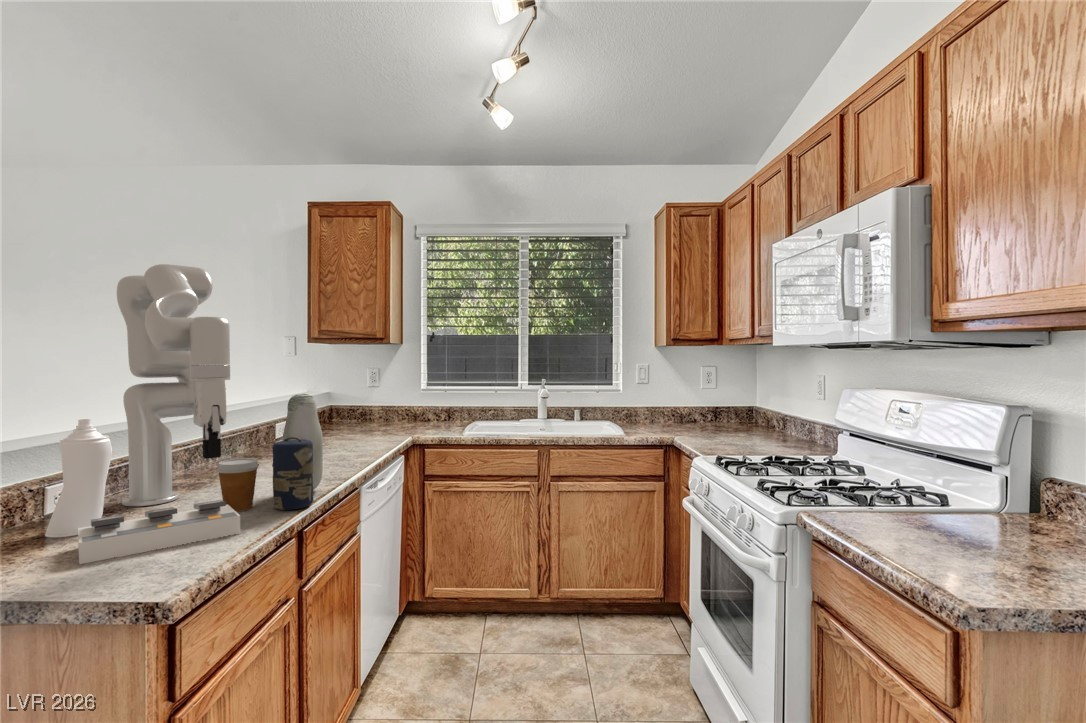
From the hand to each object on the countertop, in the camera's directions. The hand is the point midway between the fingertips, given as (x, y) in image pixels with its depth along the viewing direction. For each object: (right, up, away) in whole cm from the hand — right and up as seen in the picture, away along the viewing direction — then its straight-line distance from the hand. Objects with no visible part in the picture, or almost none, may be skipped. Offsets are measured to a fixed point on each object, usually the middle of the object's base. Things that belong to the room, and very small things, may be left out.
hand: (211, 457), depth 122 cm
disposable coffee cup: (-5, -17, +20) cm, 27 cm away
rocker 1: (-16, -11, -9) cm, 21 cm away
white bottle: (-31, -17, +2) cm, 35 cm away
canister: (+8, -17, +21) cm, 28 cm away
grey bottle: (+4, -16, +37) cm, 40 cm away
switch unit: (-8, -17, -5) cm, 19 cm away
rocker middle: (-9, -11, -3) cm, 15 cm away
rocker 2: (-2, -11, +2) cm, 11 cm away
